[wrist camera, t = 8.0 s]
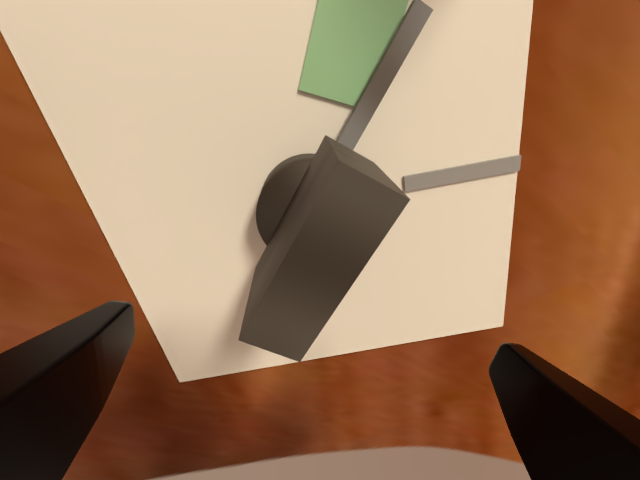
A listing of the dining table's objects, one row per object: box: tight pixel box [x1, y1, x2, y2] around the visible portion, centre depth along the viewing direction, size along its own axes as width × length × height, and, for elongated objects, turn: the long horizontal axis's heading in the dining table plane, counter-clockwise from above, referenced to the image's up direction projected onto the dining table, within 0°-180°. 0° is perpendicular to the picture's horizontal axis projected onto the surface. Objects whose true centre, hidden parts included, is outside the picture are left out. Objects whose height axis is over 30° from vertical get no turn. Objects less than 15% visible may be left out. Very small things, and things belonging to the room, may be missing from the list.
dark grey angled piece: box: [238, 0, 433, 362], centre depth 13 cm, size 13×5×7 cm, turn 151°
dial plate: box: [0, 0, 533, 382], centre depth 18 cm, size 22×22×1 cm
